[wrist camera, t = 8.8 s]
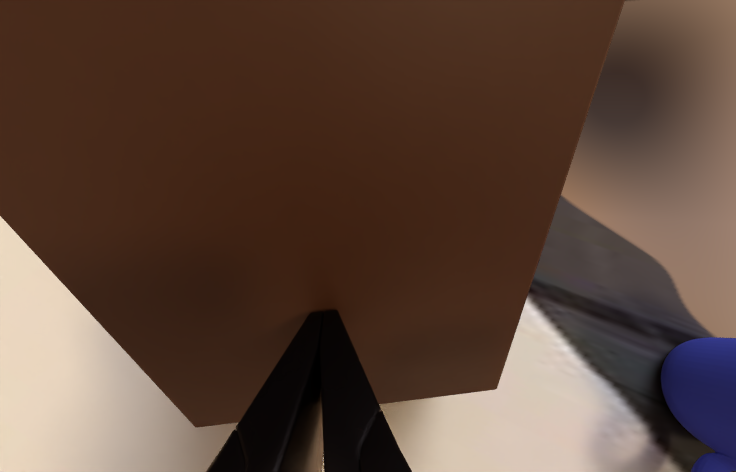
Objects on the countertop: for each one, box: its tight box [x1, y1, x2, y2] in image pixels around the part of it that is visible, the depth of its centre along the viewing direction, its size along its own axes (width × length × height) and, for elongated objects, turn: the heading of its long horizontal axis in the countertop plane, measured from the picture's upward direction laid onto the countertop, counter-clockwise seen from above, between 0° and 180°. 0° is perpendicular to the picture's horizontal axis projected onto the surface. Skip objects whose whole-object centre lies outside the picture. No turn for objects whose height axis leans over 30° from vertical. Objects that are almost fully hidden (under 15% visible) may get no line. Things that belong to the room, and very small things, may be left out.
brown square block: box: [0, 0, 625, 427], centre depth 8 cm, size 14×13×1 cm
